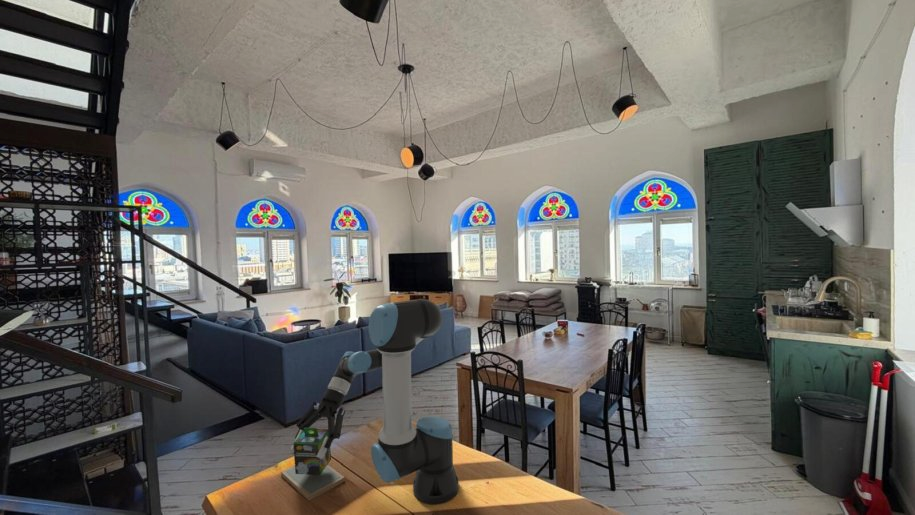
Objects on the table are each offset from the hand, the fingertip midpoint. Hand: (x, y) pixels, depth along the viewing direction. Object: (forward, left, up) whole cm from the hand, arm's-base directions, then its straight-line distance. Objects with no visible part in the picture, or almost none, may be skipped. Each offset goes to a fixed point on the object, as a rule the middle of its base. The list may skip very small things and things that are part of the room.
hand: (306, 454), depth 132 cm
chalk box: (+1, -3, -6) cm, 7 cm away
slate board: (+2, -3, -11) cm, 11 cm away
